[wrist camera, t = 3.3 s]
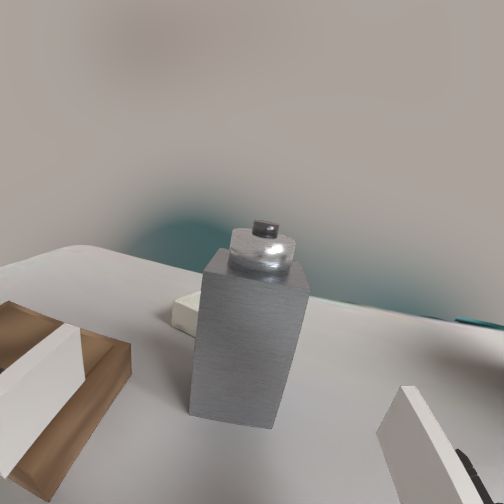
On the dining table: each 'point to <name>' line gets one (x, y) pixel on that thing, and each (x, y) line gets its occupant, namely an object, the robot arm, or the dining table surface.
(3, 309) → the stand
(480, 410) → the dining table surface
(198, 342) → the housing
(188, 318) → the box
